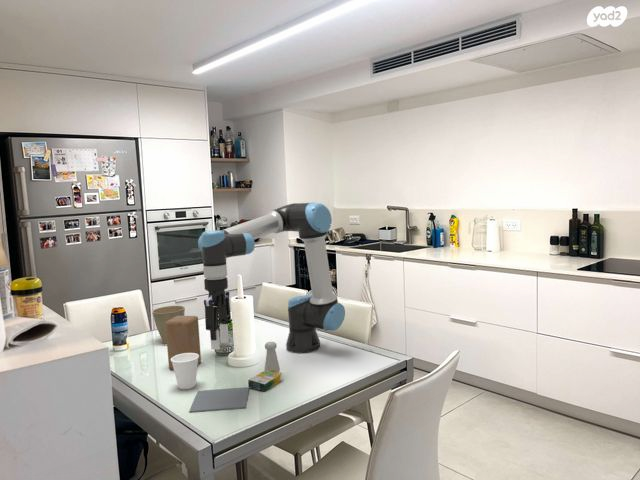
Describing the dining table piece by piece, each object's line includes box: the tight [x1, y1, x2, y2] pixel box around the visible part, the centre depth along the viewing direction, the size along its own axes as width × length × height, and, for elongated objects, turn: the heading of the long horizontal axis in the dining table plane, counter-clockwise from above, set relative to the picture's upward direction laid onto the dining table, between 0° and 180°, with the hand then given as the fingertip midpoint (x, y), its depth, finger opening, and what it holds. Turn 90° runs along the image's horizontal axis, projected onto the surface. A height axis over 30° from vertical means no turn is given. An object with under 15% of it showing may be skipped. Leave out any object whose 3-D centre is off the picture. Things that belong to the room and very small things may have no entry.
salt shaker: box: [263, 341, 281, 373], centre depth 181 cm, size 6×6×13 cm
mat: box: [188, 386, 250, 413], centre depth 162 cm, size 18×16×1 cm
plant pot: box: [151, 305, 186, 345], centre depth 231 cm, size 15×15×16 cm
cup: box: [171, 353, 199, 390], centre depth 175 cm, size 10×10×11 cm
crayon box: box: [247, 370, 284, 392], centre depth 174 cm, size 7×3×12 cm
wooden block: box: [166, 315, 202, 370], centre depth 196 cm, size 10×10×20 cm
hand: (220, 345), depth 161 cm, fingers open, 6 cm apart
